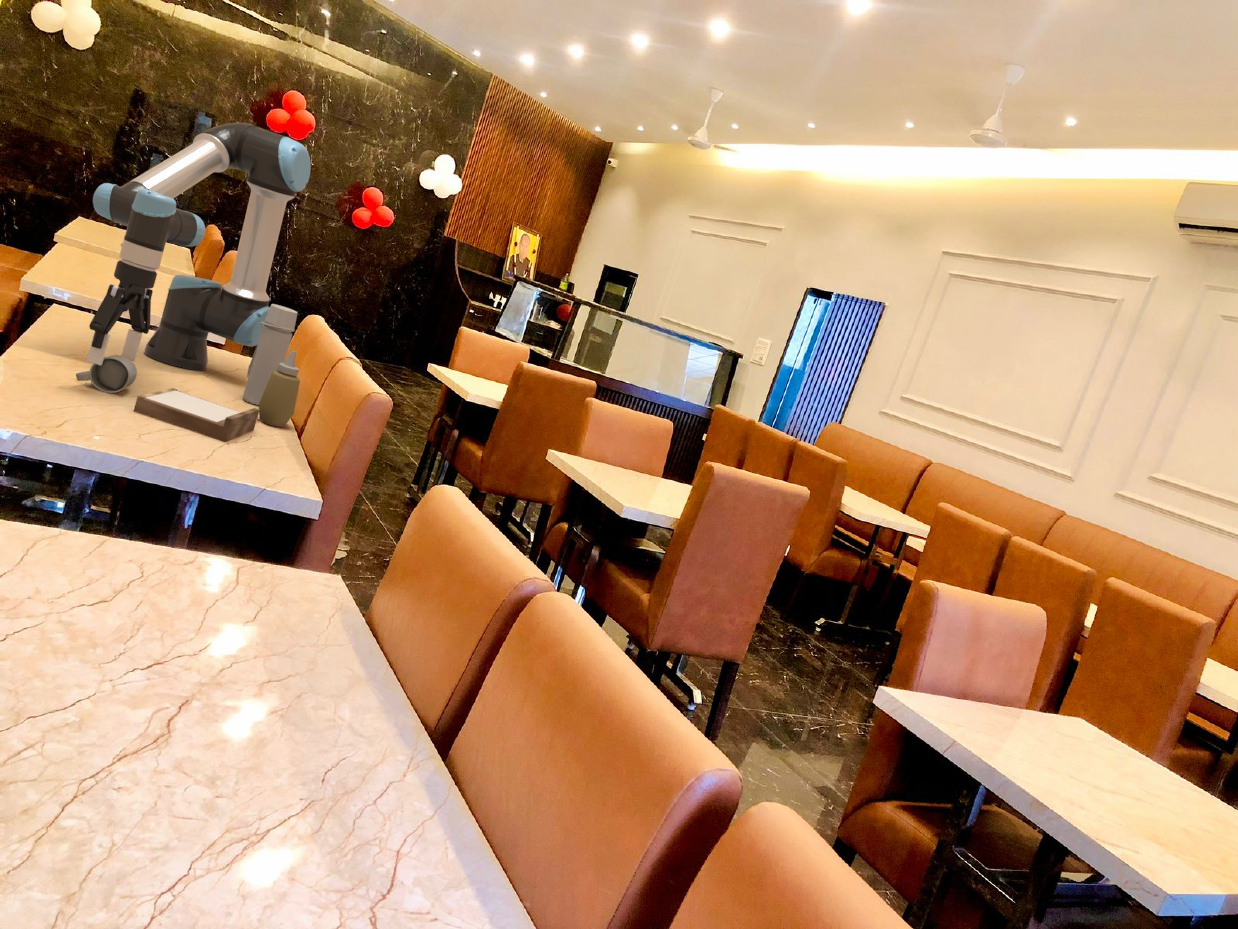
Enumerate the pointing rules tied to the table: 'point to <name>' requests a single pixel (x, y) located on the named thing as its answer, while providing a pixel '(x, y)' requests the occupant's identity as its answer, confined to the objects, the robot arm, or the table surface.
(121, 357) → the ceramic mug
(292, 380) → the squeeze bottle
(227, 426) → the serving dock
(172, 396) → the mat
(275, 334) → the water bottle
